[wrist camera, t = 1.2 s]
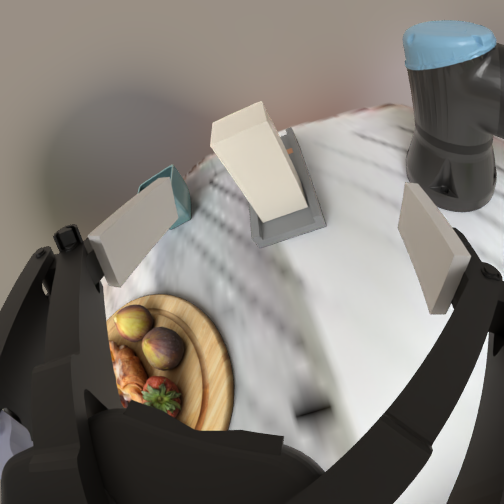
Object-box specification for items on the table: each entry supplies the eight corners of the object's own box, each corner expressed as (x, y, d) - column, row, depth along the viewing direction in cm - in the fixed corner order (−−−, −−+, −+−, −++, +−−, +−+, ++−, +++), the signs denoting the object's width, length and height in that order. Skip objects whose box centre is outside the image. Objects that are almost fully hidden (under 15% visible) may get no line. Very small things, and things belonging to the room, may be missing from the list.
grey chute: (295, 137, 52) (291, 127, 50) (326, 226, 38) (321, 214, 36) (249, 155, 55) (244, 146, 53) (259, 248, 41) (251, 238, 39)
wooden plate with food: (79, 440, 35) (44, 433, 29) (112, 295, 51) (82, 277, 45) (216, 518, 22) (177, 534, 16) (255, 298, 37) (226, 270, 31)
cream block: (300, 180, 42) (261, 100, 31) (308, 207, 39) (266, 120, 28) (259, 195, 44) (212, 122, 33) (263, 222, 41) (210, 145, 30)
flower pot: (162, 242, 52) (131, 214, 46) (165, 211, 58) (138, 185, 51) (199, 223, 50) (170, 191, 44) (198, 193, 56) (173, 163, 49)
